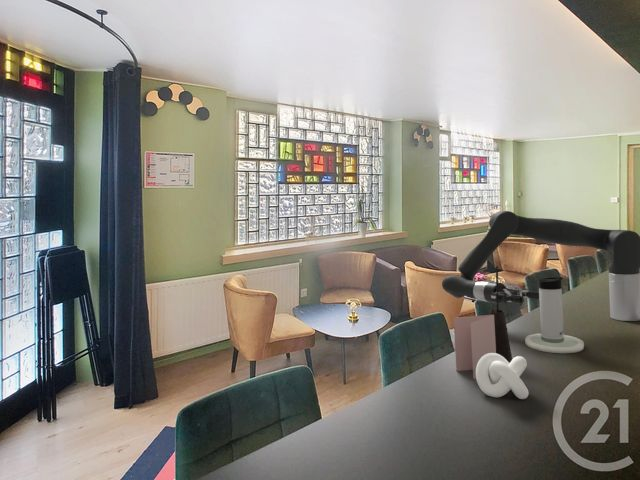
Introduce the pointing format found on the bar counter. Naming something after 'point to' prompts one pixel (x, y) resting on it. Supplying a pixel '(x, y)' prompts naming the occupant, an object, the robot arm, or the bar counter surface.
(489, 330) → the greeting card
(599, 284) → the bar counter surface
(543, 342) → the plate
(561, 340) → the travel mug
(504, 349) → the butter churn
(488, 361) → the white decorative knot
